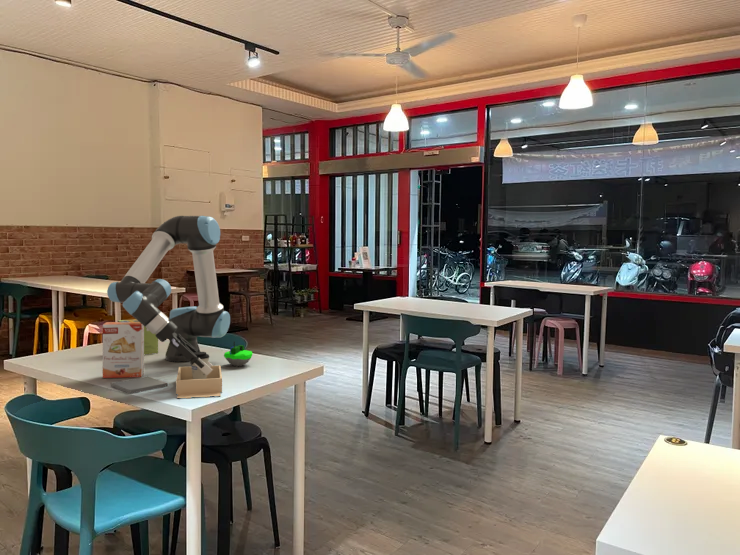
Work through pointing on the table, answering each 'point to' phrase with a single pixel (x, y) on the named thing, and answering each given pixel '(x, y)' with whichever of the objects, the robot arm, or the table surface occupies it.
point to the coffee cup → (195, 370)
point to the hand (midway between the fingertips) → (209, 370)
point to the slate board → (139, 384)
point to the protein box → (147, 339)
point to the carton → (198, 383)
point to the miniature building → (238, 355)
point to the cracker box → (123, 349)
